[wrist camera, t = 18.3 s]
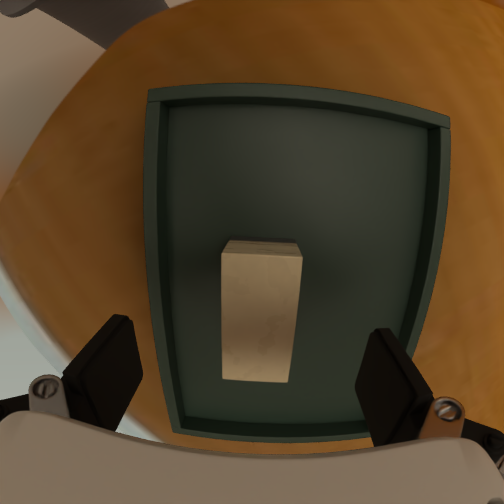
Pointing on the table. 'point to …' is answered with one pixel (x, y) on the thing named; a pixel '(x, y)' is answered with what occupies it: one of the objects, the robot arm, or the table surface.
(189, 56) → the table surface
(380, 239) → the tray
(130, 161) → the table surface
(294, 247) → the wooden block
